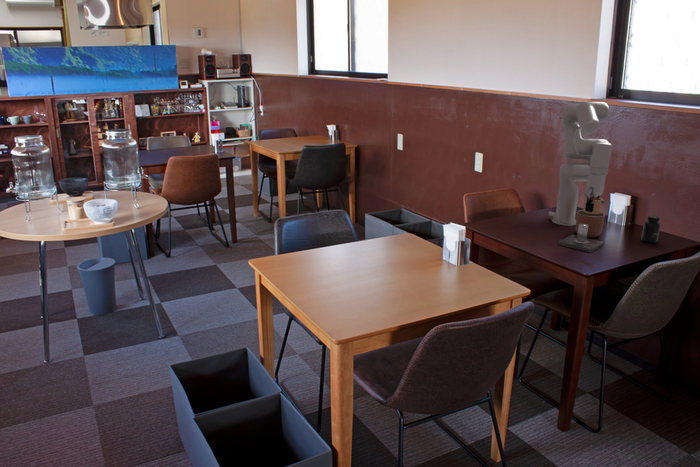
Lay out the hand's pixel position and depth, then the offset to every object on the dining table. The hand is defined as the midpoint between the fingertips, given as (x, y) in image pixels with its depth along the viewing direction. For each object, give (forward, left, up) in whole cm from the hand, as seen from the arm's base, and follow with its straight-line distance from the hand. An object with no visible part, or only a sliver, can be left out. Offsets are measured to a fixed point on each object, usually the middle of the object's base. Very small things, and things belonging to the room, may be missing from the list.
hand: (592, 209), depth 243 cm
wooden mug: (0, 0, -1) cm, 1 cm away
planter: (-7, +17, -17) cm, 25 cm away
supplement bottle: (+17, +29, -17) cm, 38 cm away
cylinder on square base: (-3, 0, -17) cm, 17 cm away
